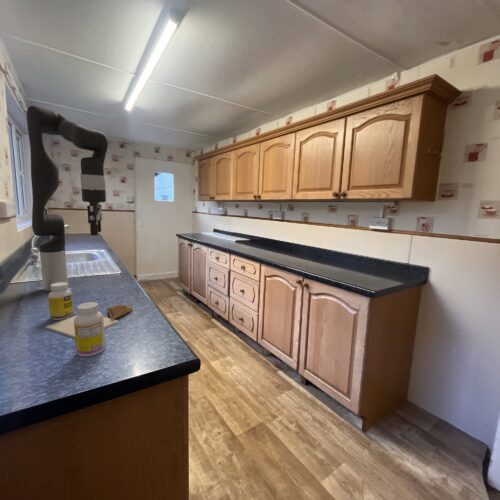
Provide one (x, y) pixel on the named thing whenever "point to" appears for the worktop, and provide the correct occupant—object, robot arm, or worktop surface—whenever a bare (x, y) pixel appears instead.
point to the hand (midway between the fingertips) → (96, 233)
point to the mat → (68, 325)
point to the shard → (118, 310)
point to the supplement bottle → (89, 330)
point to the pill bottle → (60, 301)
